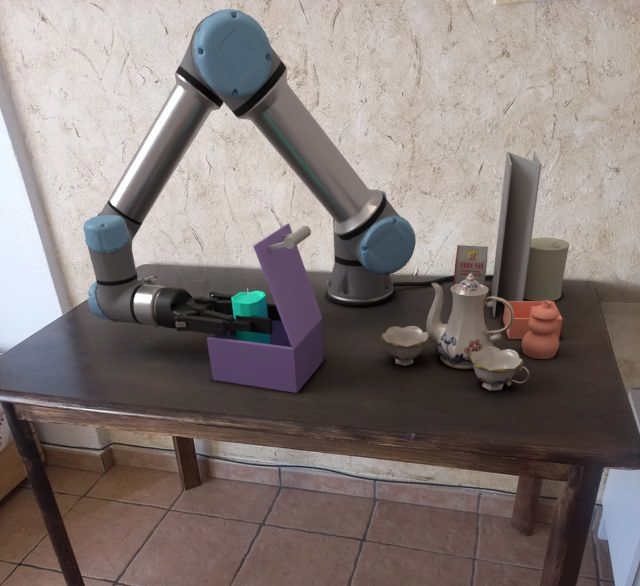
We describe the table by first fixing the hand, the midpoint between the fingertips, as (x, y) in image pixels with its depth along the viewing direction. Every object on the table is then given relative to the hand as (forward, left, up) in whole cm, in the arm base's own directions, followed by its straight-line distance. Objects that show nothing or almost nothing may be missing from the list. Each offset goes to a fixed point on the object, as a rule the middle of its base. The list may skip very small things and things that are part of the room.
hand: (278, 319), depth 107 cm
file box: (+2, -2, -10) cm, 11 cm away
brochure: (-53, -16, -11) cm, 56 cm away
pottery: (-49, +2, -11) cm, 51 cm away
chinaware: (-31, +7, -11) cm, 33 cm away
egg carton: (+27, -53, -11) cm, 60 cm away
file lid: (-2, +1, +7) cm, 7 cm away
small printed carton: (-50, -28, -11) cm, 58 cm away
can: (-63, -19, -11) cm, 66 cm away
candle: (+4, -3, -7) cm, 9 cm away
